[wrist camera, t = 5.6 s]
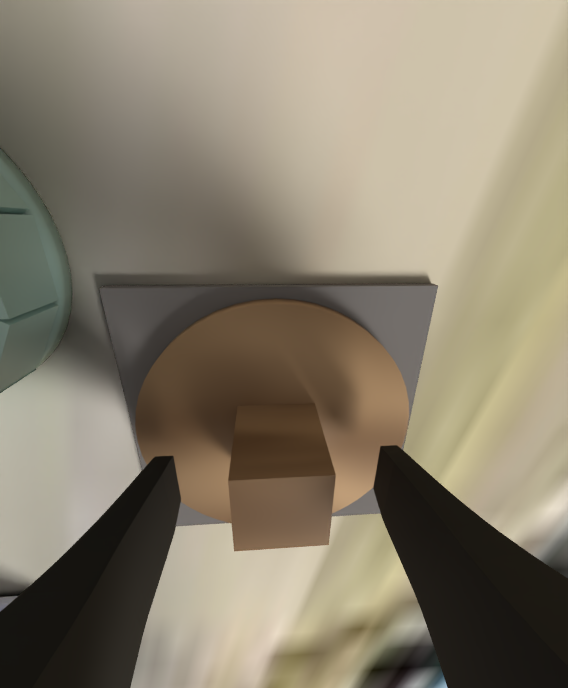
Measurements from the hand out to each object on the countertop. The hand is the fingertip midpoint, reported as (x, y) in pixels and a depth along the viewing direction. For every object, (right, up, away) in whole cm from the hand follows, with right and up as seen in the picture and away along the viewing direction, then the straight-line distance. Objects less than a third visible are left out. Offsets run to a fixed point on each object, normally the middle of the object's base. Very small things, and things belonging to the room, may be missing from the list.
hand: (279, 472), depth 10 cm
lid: (0, +1, +2) cm, 3 cm away
